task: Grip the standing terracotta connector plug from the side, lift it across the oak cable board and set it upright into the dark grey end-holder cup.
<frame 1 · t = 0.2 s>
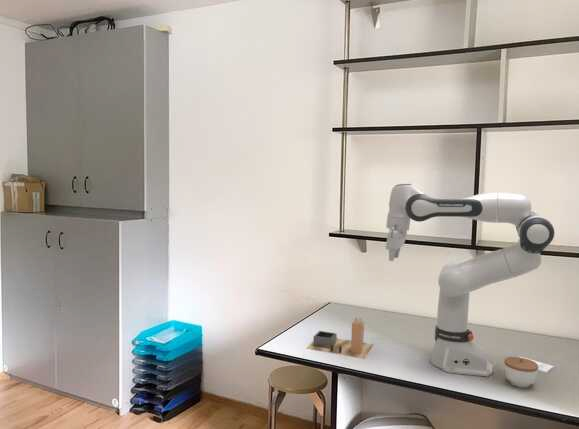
hand: (393, 259, 191), 39 cm above the table, tool pointing down, fingers open, 8 cm apart
lidded jar: (519, 384, 170), on the table
connector: (356, 351, 194), point 1 cm above the table, touching cable board
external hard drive: (532, 367, 187), on the table
end holder: (325, 344, 201), resting on cable board
cable board: (340, 348, 199), on the table
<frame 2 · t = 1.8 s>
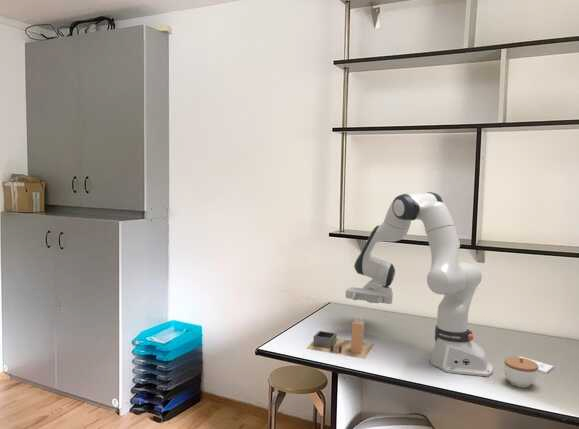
hand: (365, 299, 203), 19 cm above the table, tool horizontal, fingers open, 8 cm apart
nothing on the table moved.
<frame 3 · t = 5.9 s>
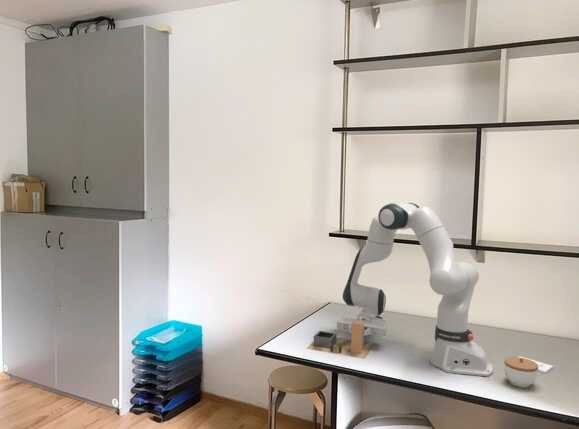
hand: (357, 332, 192), 9 cm above the table, tool horizontal, fingers closed on connector, 4 cm apart
connector: (356, 351, 194), point 1 cm above the table, touching cable board, gripper
everything else where it was.
when the fingers open (10 cm above the table, at t = 10.8 s): connector drops 1 cm, resting on cable board.
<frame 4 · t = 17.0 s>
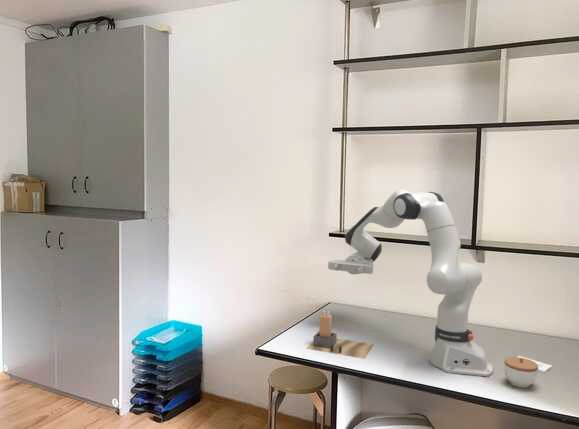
hand: (346, 269, 210), 30 cm above the table, tool horizontal, fingers open, 8 cm apart
connector: (325, 344, 201), point 1 cm above the table, touching cable board
everything else where it was.
at the end: connector 0.0 cm off-centre on the end holder, point 0.0 cm above the end holder's base; connector tilted 0°; the gripper is holding nothing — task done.
